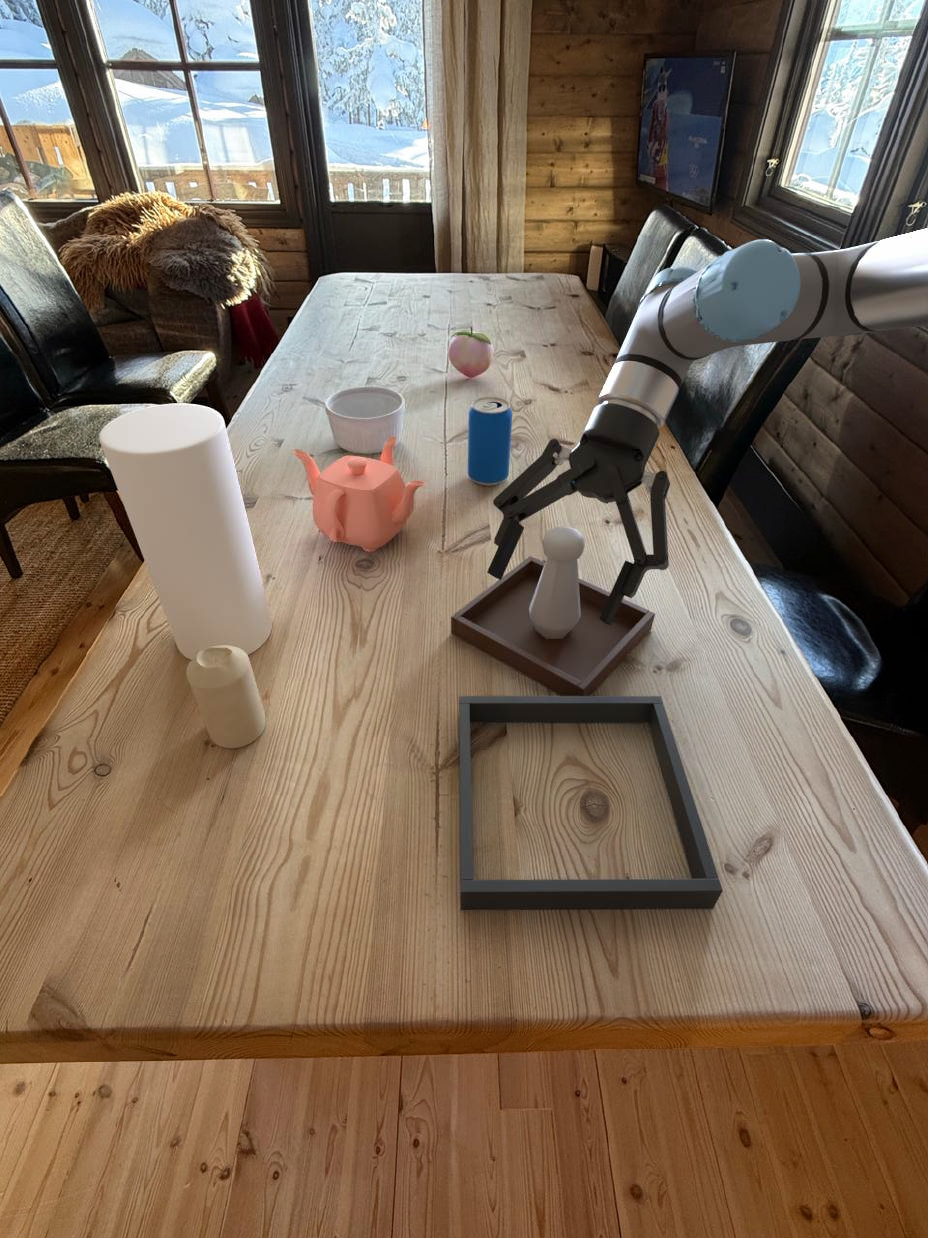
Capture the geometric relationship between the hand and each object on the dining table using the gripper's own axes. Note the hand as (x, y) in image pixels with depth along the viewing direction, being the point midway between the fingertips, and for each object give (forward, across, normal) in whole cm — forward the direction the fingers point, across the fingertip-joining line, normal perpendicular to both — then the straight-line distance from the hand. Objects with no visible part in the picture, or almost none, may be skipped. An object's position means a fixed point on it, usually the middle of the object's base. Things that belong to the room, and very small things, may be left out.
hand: (547, 598), depth 71 cm
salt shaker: (+3, 0, -6) cm, 7 cm away
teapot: (0, +32, -10) cm, 33 cm away
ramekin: (-15, +50, -24) cm, 57 cm away
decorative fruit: (-39, +52, -49) cm, 81 cm away
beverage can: (-16, +26, -25) cm, 39 cm away
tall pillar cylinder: (+18, +31, +9) cm, 37 cm away
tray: (+3, 0, -6) cm, 7 cm away
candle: (+25, +19, +15) cm, 34 cm away
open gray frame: (+16, -12, +7) cm, 22 cm away
